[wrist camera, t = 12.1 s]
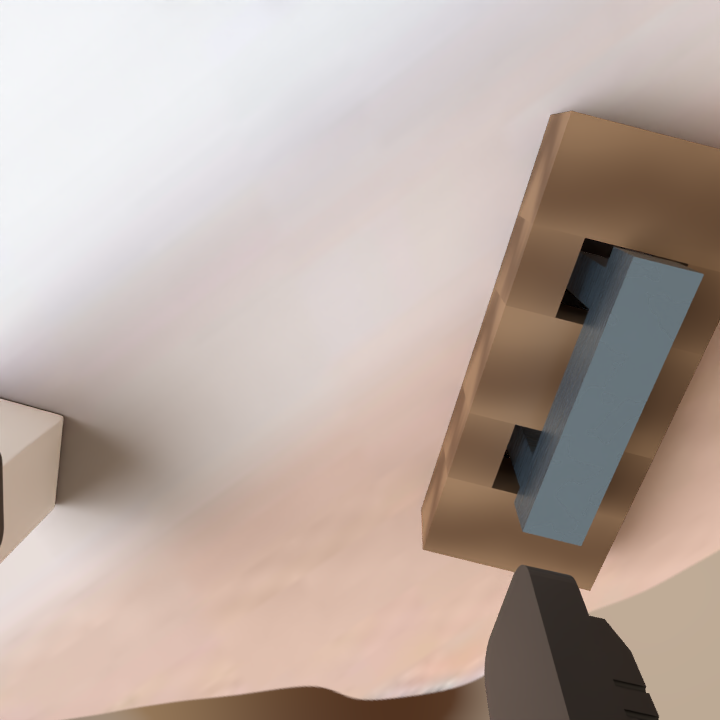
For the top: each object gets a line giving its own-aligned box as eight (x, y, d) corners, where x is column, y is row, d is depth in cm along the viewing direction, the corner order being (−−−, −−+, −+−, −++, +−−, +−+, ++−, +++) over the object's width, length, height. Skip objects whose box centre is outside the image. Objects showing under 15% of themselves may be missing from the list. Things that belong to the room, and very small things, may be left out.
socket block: (550, 115, 29) (571, 110, 26) (743, 164, 30) (792, 167, 26) (421, 509, 38) (422, 549, 34) (572, 546, 38) (590, 590, 34)
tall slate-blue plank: (582, 231, 31) (633, 256, 24) (637, 245, 31) (704, 274, 24) (499, 456, 36) (522, 531, 29) (547, 468, 36) (581, 546, 29)
